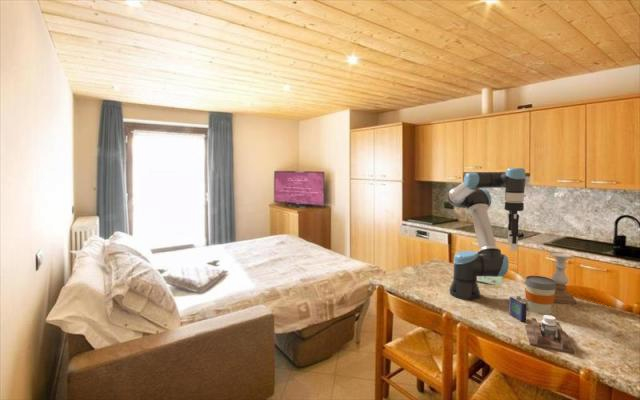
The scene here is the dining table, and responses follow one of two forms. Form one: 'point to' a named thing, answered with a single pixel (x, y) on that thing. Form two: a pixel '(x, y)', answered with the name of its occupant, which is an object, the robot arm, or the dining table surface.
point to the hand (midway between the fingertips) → (512, 247)
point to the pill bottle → (548, 327)
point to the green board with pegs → (489, 279)
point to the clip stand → (557, 344)
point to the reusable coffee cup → (540, 293)
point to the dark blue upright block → (517, 308)
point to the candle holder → (561, 278)
